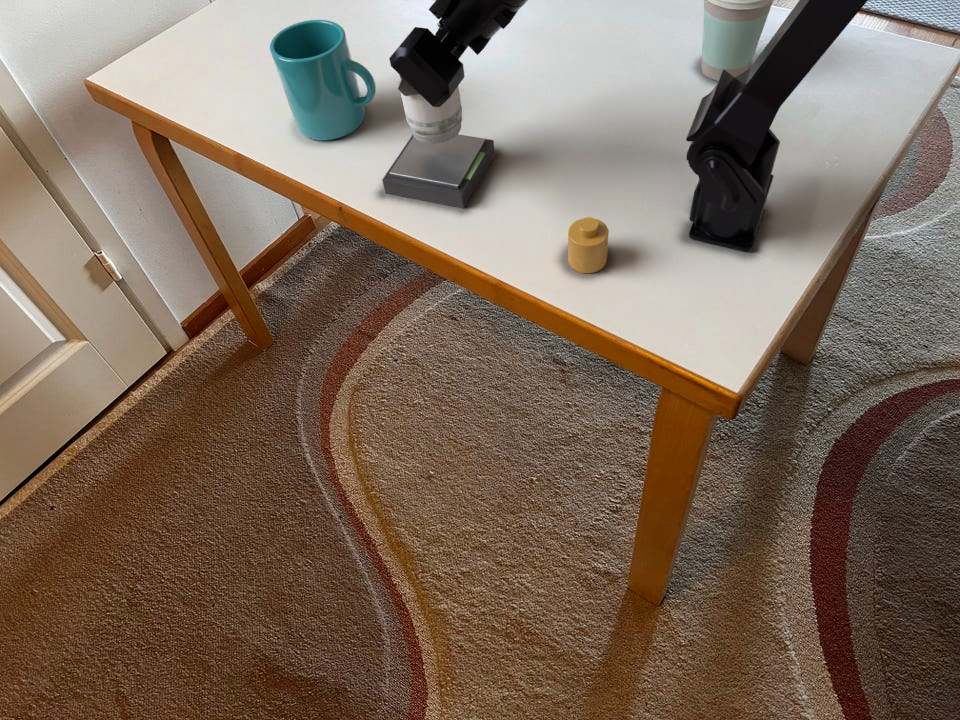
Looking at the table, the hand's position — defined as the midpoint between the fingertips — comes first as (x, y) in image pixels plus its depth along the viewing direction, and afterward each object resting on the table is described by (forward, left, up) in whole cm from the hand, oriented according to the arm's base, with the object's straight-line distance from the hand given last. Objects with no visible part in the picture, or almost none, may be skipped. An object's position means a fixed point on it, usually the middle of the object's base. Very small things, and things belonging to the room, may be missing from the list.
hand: (415, 74), depth 76 cm
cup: (+16, -4, -12) cm, 20 cm away
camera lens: (-1, 0, -7) cm, 7 cm away
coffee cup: (-27, -29, -12) cm, 42 cm away
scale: (-1, +1, -12) cm, 12 cm away
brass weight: (-22, +8, -12) cm, 27 cm away
